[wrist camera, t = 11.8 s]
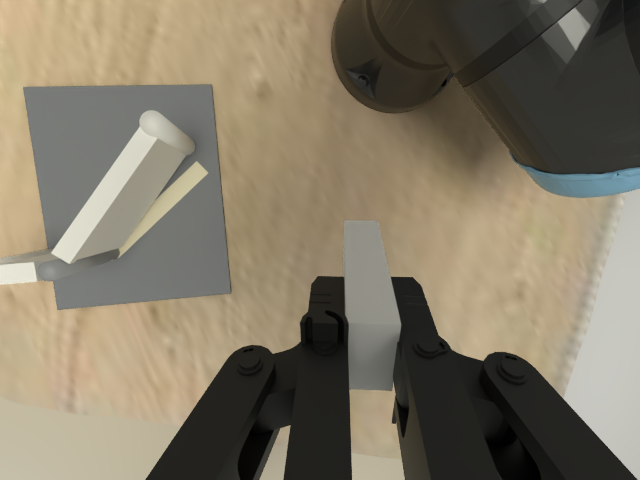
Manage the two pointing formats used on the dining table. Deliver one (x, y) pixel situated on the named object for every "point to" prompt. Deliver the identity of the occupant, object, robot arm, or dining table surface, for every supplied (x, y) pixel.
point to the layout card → (163, 215)
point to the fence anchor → (46, 266)
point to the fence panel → (126, 189)
